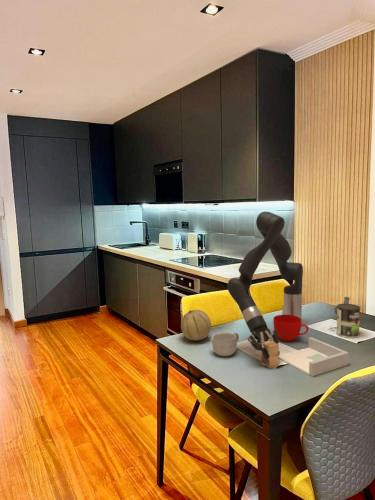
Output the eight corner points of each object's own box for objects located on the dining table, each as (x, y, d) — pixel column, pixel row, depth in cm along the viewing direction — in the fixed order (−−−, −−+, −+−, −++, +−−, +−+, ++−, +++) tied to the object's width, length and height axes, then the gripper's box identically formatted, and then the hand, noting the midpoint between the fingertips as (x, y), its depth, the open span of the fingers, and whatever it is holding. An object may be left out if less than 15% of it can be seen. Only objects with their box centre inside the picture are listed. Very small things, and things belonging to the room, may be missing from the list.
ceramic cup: (301, 348, 161) (302, 326, 160) (268, 339, 173) (268, 319, 172) (314, 339, 171) (314, 319, 170) (281, 332, 182) (281, 312, 181)
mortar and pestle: (350, 324, 191) (351, 301, 190) (332, 320, 197) (333, 299, 195) (356, 318, 200) (356, 297, 198) (338, 315, 206) (338, 294, 204)
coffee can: (364, 336, 174) (365, 307, 172) (348, 339, 170) (349, 310, 168) (347, 329, 183) (347, 302, 182) (331, 332, 179) (332, 305, 177)
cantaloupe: (217, 340, 174) (217, 309, 172) (193, 347, 166) (192, 316, 164) (199, 331, 186) (198, 303, 184) (175, 338, 178) (174, 308, 176)
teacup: (220, 360, 151) (220, 342, 150) (207, 351, 161) (206, 334, 160) (247, 353, 158) (247, 336, 157) (233, 345, 167) (233, 328, 166)
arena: (276, 357, 153) (276, 346, 152) (311, 348, 162) (311, 337, 161) (312, 376, 135) (312, 363, 135) (348, 364, 144) (348, 352, 144)
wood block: (261, 363, 147) (260, 342, 146) (269, 361, 149) (269, 340, 148) (269, 368, 143) (269, 346, 142) (278, 366, 145) (278, 344, 144)
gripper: (243, 317, 147) (263, 356, 138) (271, 312, 154) (291, 349, 144) (236, 326, 152) (254, 364, 143) (263, 320, 159) (282, 357, 150)
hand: (273, 356), depth 144 cm, fingers closed on wood block, 4 cm apart
